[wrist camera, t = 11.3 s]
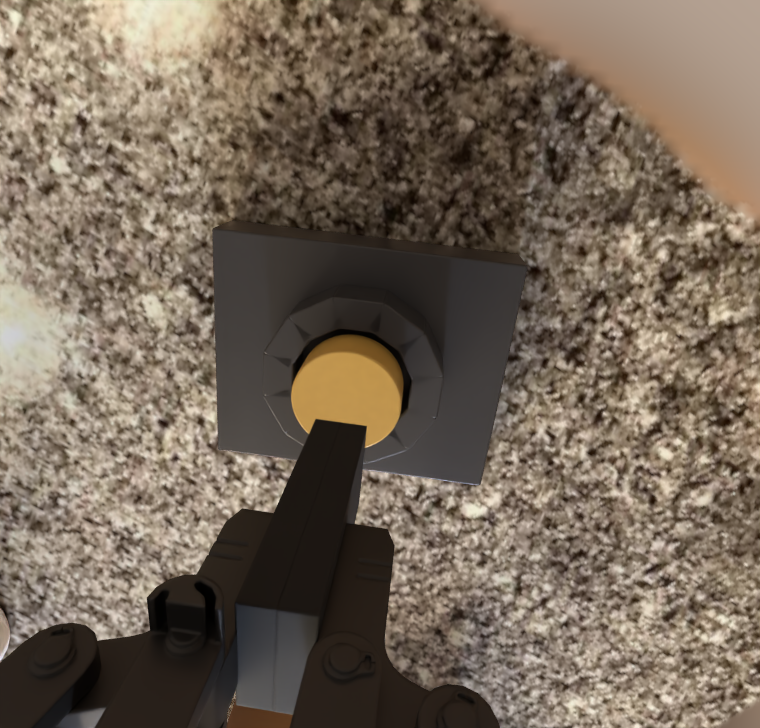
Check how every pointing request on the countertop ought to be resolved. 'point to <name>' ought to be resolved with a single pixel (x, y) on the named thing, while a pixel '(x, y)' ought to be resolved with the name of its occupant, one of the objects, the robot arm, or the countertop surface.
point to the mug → (3, 634)
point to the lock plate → (257, 718)
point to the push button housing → (369, 319)
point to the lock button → (349, 386)
